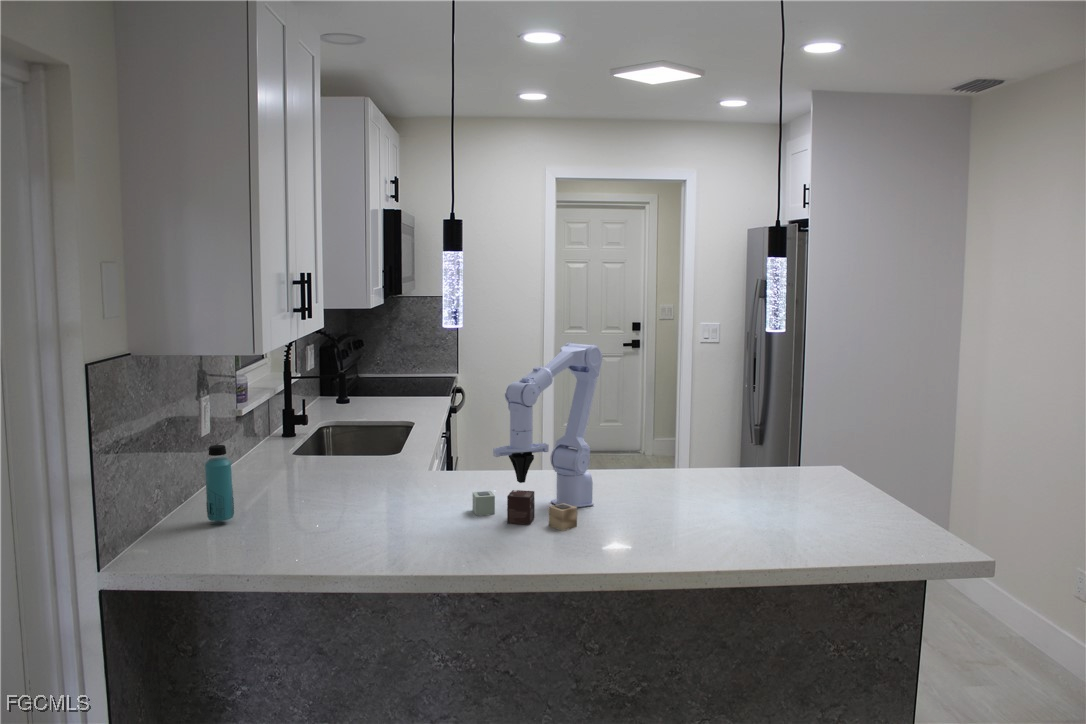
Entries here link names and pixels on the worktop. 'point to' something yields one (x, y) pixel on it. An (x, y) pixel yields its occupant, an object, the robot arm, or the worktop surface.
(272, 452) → the worktop surface
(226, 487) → the beverage bottle
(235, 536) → the worktop surface
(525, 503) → the box
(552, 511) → the oak marked block
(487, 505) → the sage marked block
